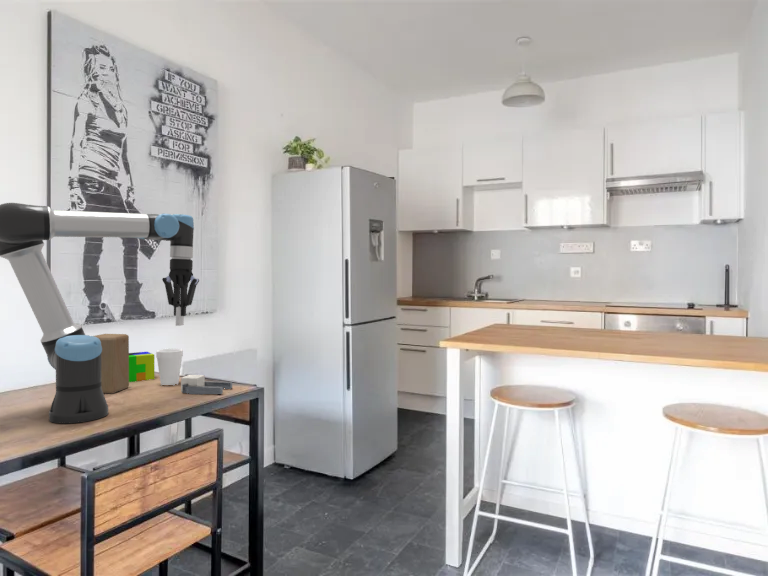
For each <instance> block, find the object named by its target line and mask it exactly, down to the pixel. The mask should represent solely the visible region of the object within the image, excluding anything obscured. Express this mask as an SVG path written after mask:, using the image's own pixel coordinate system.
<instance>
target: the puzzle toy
mask: <svg viewBox="0 0 768 576" xmlns="http://www.w3.org/2000/svg"><path fill="white" fill-rule="evenodd" d="M149 379H153V380H155V354H154V353H152V352H149V351H139V352H129V383H136V382H143V381H142V380H145V381H150V380H149ZM135 381H136V382H135Z"/></svg>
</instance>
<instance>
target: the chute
mask: <svg viewBox="0 0 768 576" xmlns="http://www.w3.org/2000/svg"><path fill="white" fill-rule="evenodd" d="M224 388H225V389H231V388H232V389H233V381H218V380H217V381H216V380H215V381H214V380H205V386H188V384H183V385H182V392H181V393H187V394H186V395H203V394H222V393H223V391H224V390H225V389H224ZM232 389H231V390H232ZM188 393H189V394H188ZM223 394H224V393H223ZM223 394H222V395H223Z"/></svg>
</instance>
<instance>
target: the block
mask: <svg viewBox="0 0 768 576" xmlns="http://www.w3.org/2000/svg"><path fill="white" fill-rule="evenodd" d="M205 378H206V376H205V375H204V374H188V375H185V376H182V377H181V378H180V392H181V393H182V385H183V384H188V386H205V381H206V379H205Z"/></svg>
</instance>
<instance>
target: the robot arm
mask: <svg viewBox="0 0 768 576" xmlns="http://www.w3.org/2000/svg"><path fill="white" fill-rule="evenodd" d="M194 224H195V223H194V217H193V216H192V215H189V214H183V213H182V214H179V213H175V214H174V213H173V214H171V213H159V214H157V213H153V214H152V213H135V212H133V213H132V212H130V213H129V212H110V211H109V212H106V211H87V210H84V211H82V210H62V209H61V210H57V209H56V210H54V209H52V208H51V207H50V206H49V205H48V206H45V205H33V204H24V203H20V202H19V203H18V202H6V203H5V202H4V203H1V204H0V258H3V259H6V260H7V261H8V262H9V264H10V265H11V268H12V270H13V272H14V275H15V277H16V279H17V281H18V283H19V285H20V287H21V289H22V292H23V293H24V296H25V298H26V300H27V302H28V304H29V307H30V309H31V310H32V312H33V315H34V316H35V319H36V321H37V323H38V325H39V328H40V330H41V332H42V337H41V339H40V343H41V345H42V347H43V349H44V351H45V353H46V357H47V361H48V364H49V365H50V366H51V367H52V368H53V370H55V395H54V397H53V401H52V403H51V405H50V409H49V411H48V421H49V422H51V423H56V424H76V423H84V422H90V421H95V420H98V419H99V420H100V419H102V418H104V417H106V416H107V415H109V404H108V402H107V399H106V397H105V393H103V391H102V385H101V352H102V346H101V341H100V339H99V338H97V337H94V336H95V335H88V334H86V333H85V332H84V329H83V328H82V325H80V324H77V323H75V322H74V321H73V317H72V316H71V313H70V312H69V309H68V307H67V304H66V303H65V299H64V298H63V296H62V294H61V291H60V289H59V288H58V285H57V283H56V280H55V278H54V276H53V273H52V272H51V269H50V267H49V265H48V262H47V260H46V258H45V256H44V255H43V252H42V249H43V247H44V246H45V243H44V241H51V240H52V239H53V238H54V237H55V238H59V237H60V238H63V237H64V238H132V239H133V238H136V239H140V240H144V241H145V240H149V241H150V240H152V241H165V242H166V241H167V242H169V243H170V244H169V246H170V247H169V258H170V259H169V272H168V275H166V277H162V279H161V280H162V282H163V283H164V286H165V292H166V297H167V302H168V305H170V306H173V316H174V317H175V327H180V326H184V323H185V320H184V318H185V317H186V314H187V307H188V306H192V304H193V301H194V295H195V293H196V289H197V285H198V284H199V282H200V279H199V278H196V277H195V276H194V273H193V264H194V263H193V261H194V260H192V259H193V256H194V253H193V252H194V231H195V227H194Z"/></svg>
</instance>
